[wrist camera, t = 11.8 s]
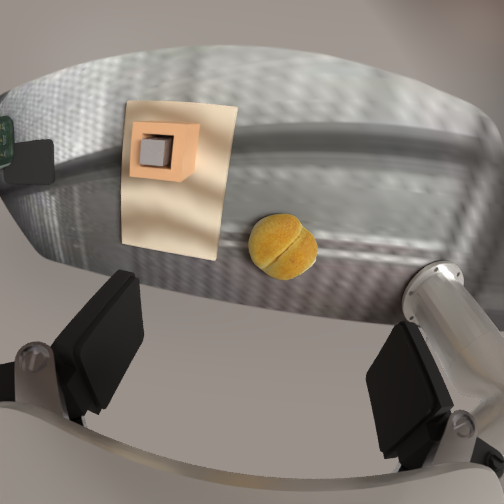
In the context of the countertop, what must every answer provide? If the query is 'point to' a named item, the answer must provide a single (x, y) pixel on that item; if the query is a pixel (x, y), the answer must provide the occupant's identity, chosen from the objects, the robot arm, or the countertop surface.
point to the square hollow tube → (181, 152)
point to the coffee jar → (6, 141)
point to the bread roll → (282, 246)
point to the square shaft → (156, 150)
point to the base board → (179, 183)
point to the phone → (31, 163)
